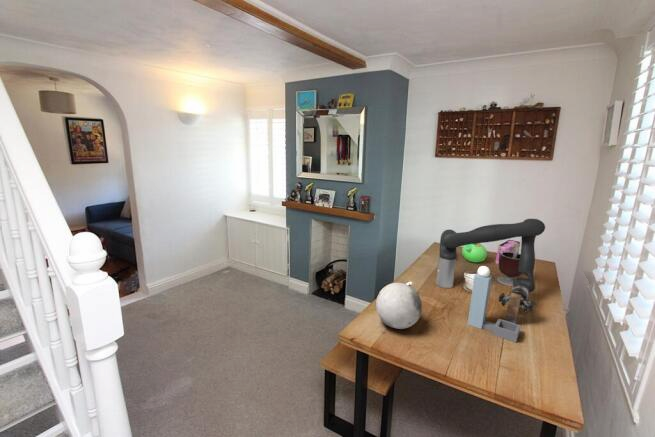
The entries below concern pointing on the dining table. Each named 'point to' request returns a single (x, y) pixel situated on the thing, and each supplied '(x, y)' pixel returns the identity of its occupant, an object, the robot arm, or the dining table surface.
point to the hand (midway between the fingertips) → (513, 307)
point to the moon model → (398, 305)
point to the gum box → (507, 248)
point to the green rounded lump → (474, 252)
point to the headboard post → (480, 308)
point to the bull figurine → (410, 284)
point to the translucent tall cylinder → (513, 308)
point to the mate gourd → (509, 266)
